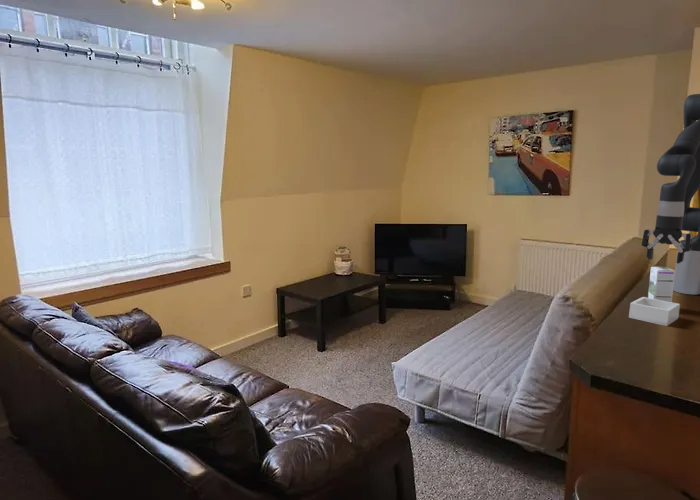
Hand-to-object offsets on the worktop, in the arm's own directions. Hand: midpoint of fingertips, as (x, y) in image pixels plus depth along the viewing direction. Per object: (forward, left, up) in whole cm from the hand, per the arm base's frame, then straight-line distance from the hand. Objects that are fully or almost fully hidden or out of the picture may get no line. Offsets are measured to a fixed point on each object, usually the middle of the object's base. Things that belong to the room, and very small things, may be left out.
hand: (664, 261), depth 162 cm
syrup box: (0, 0, -17) cm, 17 cm away
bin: (+13, +3, -17) cm, 22 cm away
